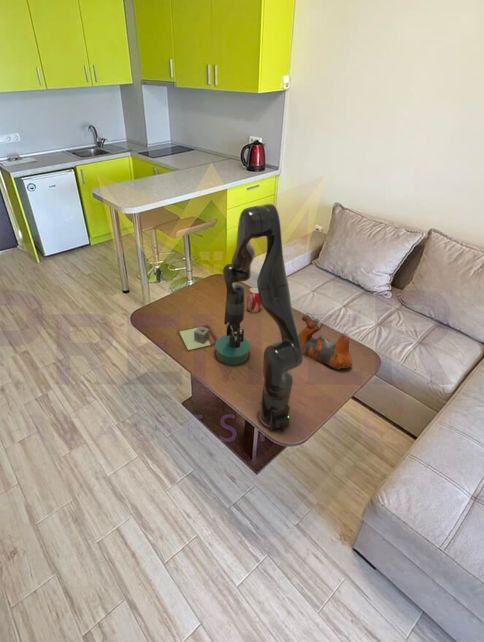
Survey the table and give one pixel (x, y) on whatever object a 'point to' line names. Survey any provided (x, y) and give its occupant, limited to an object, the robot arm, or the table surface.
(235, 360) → the pot
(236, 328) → the robot arm
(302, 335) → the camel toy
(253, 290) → the soda can
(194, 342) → the placemat
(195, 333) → the dice cube
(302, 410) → the table surface
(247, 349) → the pot lid
